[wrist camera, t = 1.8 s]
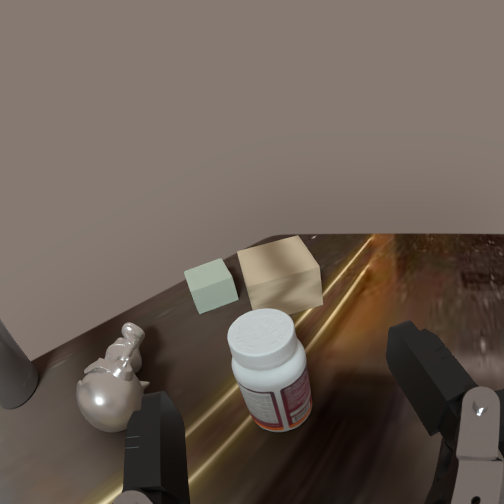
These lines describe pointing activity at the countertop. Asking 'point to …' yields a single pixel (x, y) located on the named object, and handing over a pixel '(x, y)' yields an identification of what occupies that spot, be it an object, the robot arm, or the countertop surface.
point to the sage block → (211, 285)
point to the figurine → (113, 383)
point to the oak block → (281, 276)
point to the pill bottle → (271, 369)
